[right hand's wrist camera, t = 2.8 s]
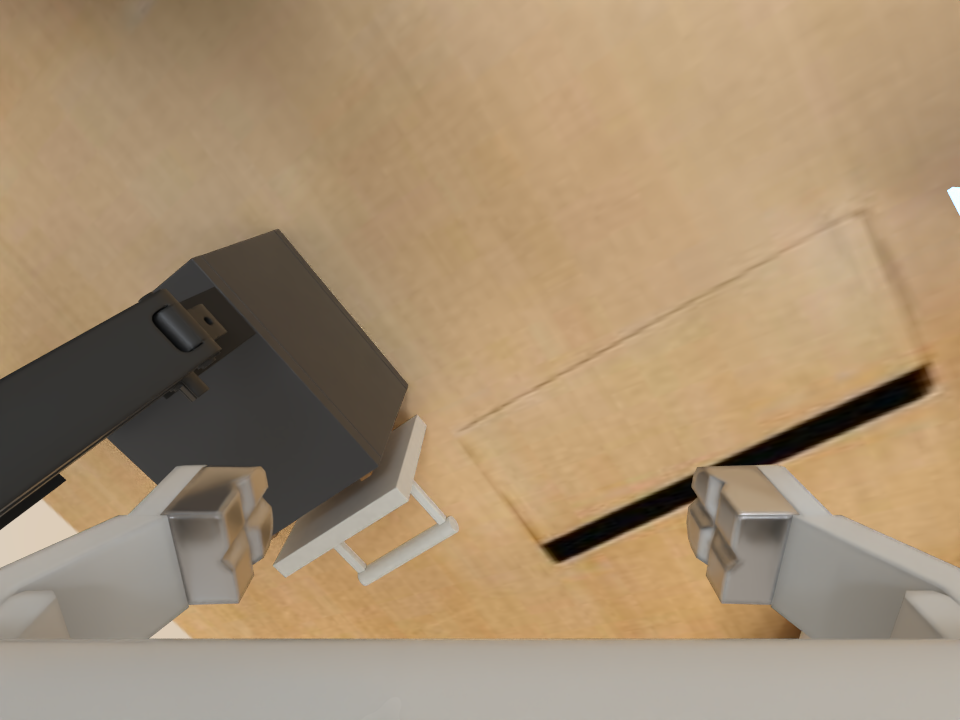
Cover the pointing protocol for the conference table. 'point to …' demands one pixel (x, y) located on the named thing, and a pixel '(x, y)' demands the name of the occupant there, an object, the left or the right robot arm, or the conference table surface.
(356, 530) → the drawer
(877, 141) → the conference table surface
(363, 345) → the dark grey cube
